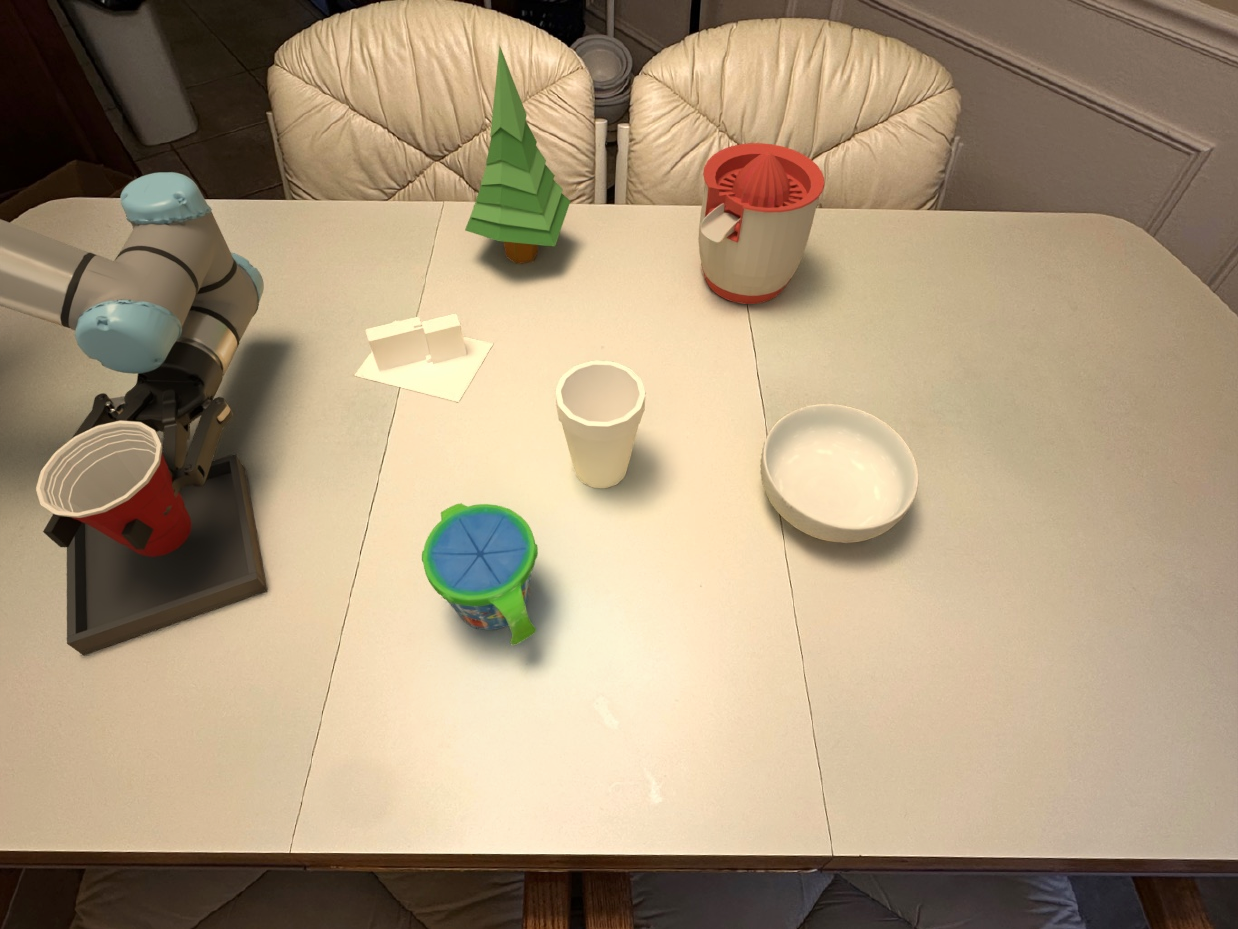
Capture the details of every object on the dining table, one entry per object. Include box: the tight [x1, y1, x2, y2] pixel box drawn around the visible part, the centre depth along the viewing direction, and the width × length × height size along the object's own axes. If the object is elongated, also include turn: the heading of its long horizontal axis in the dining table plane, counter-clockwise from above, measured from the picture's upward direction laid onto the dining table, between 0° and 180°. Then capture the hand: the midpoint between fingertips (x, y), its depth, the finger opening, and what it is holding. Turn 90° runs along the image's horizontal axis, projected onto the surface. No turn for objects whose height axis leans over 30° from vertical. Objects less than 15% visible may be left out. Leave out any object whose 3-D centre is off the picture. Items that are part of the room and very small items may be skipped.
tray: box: [66, 453, 268, 656], centre depth 79 cm, size 18×18×3 cm
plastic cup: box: [35, 421, 192, 557], centre depth 72 cm, size 11×11×12 cm
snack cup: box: [421, 502, 539, 646], centre depth 73 cm, size 16×10×10 cm
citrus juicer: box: [697, 142, 825, 305], centre depth 101 cm, size 16×17×20 cm
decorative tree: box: [464, 45, 571, 265], centre depth 100 cm, size 14×16×30 cm
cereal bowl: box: [759, 403, 920, 544], centre depth 83 cm, size 17×17×7 cm
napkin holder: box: [354, 313, 494, 403], centre depth 96 cm, size 15×11×6 cm
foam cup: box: [554, 360, 646, 489], centre depth 83 cm, size 10×9×13 cm
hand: (94, 540), depth 68 cm, fingers closed on plastic cup, 6 cm apart
